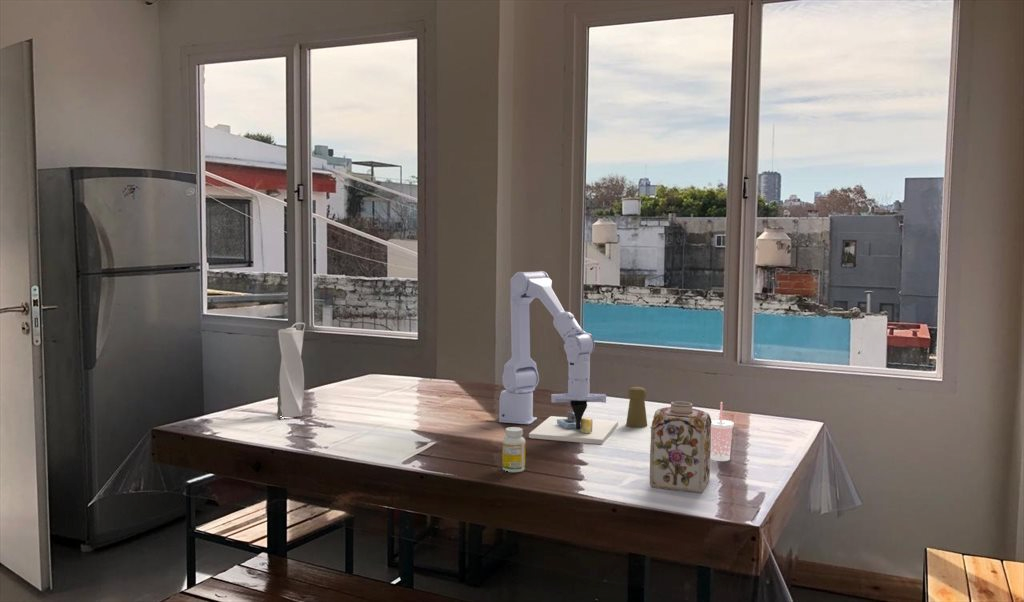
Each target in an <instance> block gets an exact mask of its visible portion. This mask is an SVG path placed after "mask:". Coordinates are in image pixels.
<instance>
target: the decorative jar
mask: <svg viewBox="0 0 1024 602" xmlns="http://www.w3.org/2000/svg"><path fill="white" fill-rule="evenodd" d="M711 420H712V418H711V416H710V414H709V413H708V412H706V411H704V410H701V409H697V408H693V403H691V402H689V401H679V400H677V401H671V402H670V407H668V406H667V407H663V408H662V407H661V408H658V409H657V410H655V411H654V415H653V419H652V421H651V422H652V423H651V426H650V445H649V446H650V447H649V448H650V449H649V486H650V488H655V487H659V488H658V489H663V488H667V489H666V490H671V489H674V490H673V491H679V490H682V491H681V492H688V491H690V492H689V493H697V492H698V494H701V493H703V492H704V490H705V488H706V485H707V484H708V481H709V479H710V478H711V477H710V473H711V472H710V471H711V458H710V455H711V423H712V421H711Z"/></svg>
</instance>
